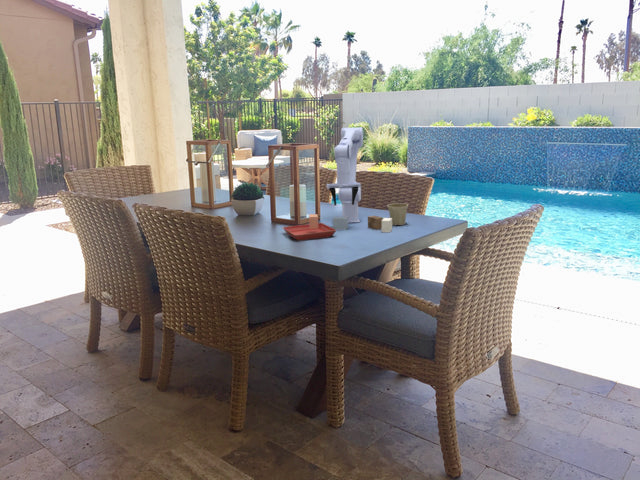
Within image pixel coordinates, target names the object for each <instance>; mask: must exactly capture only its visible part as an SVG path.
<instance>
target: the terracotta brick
mask: <svg viewBox="0 0 640 480" xmlns="http://www.w3.org/2000/svg"><path fill="white" fill-rule="evenodd" d="M308 218H309V219H308V224H309V226H310V229H318V223H319V216H318V214H316V213H315V214H311V213H310V214H308Z"/></svg>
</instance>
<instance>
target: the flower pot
mask: <svg viewBox="0 0 640 480" xmlns="http://www.w3.org/2000/svg"><path fill="white" fill-rule="evenodd" d="M386 207H387V209H388V212H389V218H392V226H404V225H405V224H406V219H407V218H406V217H407V211H408V207H409V204H407V203H401V202H400V203H390V204H389V203H388V204H387V205H386Z"/></svg>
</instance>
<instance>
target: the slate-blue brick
mask: <svg viewBox="0 0 640 480" xmlns="http://www.w3.org/2000/svg"><path fill="white" fill-rule="evenodd" d="M348 224H349V223H348V217H343V216H334V217H333V218H332V225H333V227H332V228H333V229H335V230H336V231H339V230H340V231H344V230H345V231H346V230H348V227H349V226H348Z"/></svg>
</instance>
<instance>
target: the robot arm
mask: <svg viewBox="0 0 640 480" xmlns="http://www.w3.org/2000/svg"><path fill="white" fill-rule="evenodd" d="M363 145H364V128H363V127H362V126H360V127H342V128H341V129H340V141H339V143H338V144H337V145H336V146H334V159H335V163H336V183H326V189H327V190H329V192H330V194H331V196H332V200H333V204H334V206H337V199H336V198H337V197H336V195H337V194H336V193H337V191H336V189H338V200H339V202H340V203H341V204H342V206H341V207H342V217H348V224H349V223H360V222H361V221H360V219H359V202H360V201H361V199H362V184H361V182H357V181H356V180H357V166H358V164H357V163H358V154H359V149H361V148H362V147H363Z"/></svg>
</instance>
